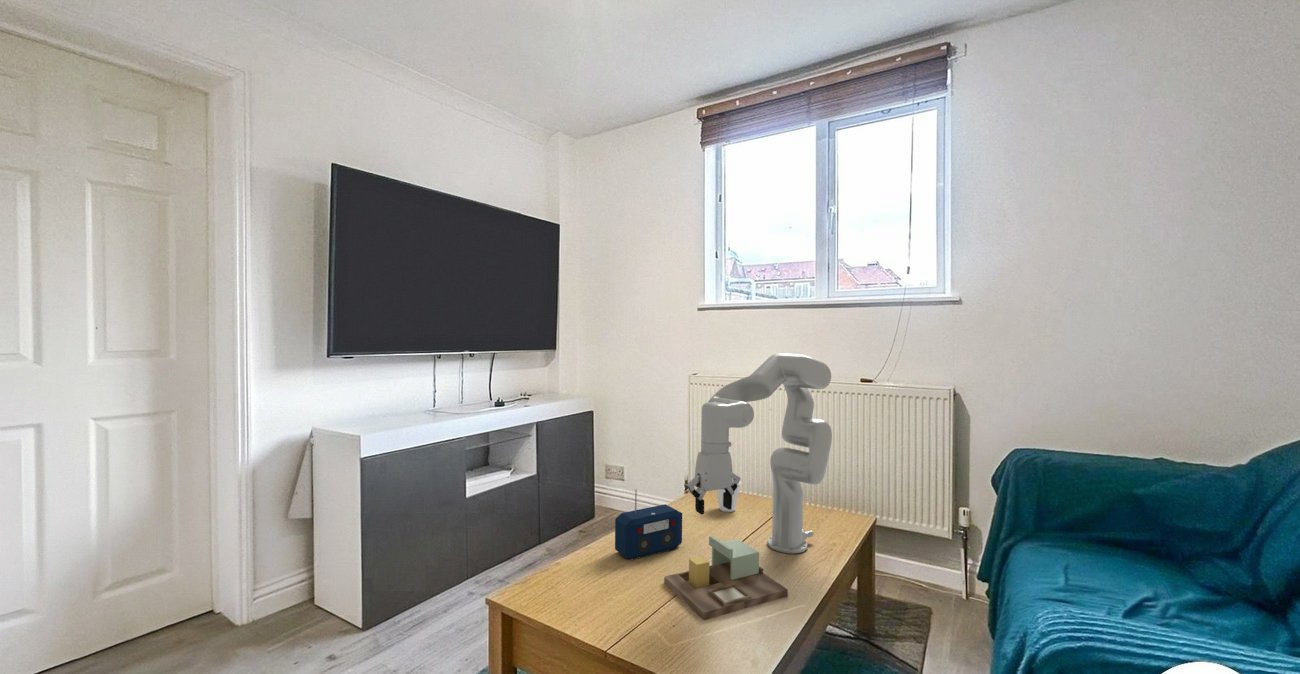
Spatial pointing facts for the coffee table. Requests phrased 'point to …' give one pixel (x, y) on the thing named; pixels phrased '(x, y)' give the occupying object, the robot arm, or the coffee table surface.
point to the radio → (648, 531)
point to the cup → (734, 499)
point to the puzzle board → (725, 591)
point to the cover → (735, 556)
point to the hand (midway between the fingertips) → (713, 510)
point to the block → (698, 572)
